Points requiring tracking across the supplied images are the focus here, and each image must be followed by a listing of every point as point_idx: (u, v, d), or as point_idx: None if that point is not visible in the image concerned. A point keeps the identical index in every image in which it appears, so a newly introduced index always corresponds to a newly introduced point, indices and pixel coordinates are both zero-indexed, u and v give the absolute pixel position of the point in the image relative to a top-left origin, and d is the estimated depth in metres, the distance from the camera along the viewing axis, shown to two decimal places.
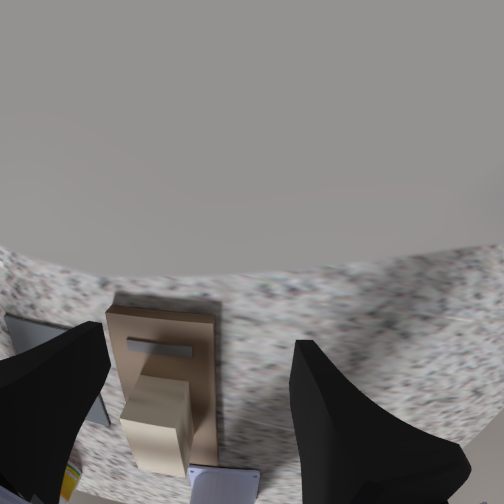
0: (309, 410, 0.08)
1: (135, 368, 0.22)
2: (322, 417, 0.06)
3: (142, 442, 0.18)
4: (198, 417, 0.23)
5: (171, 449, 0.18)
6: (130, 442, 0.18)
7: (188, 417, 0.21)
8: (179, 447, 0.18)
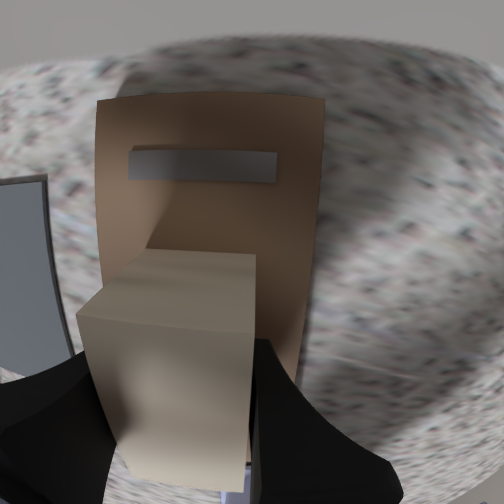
0: (253, 410, 0.08)
1: (137, 232, 0.11)
2: (256, 418, 0.06)
3: (138, 404, 0.07)
4: None
5: (223, 420, 0.07)
6: (107, 405, 0.07)
7: None
8: (248, 411, 0.07)
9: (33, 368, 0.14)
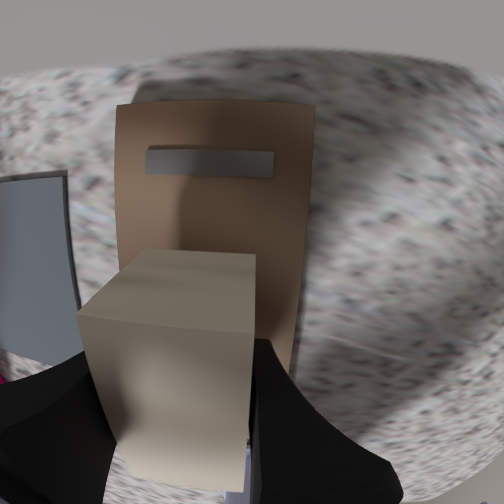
0: (253, 409, 0.08)
1: (152, 220, 0.12)
2: (256, 417, 0.06)
3: (138, 404, 0.07)
4: (262, 331, 0.14)
5: (223, 419, 0.07)
6: (107, 404, 0.07)
7: None
8: (248, 411, 0.07)
9: (46, 352, 0.16)
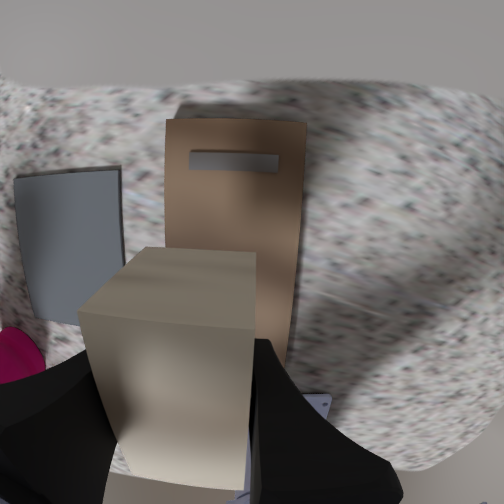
0: (253, 409, 0.08)
1: (192, 202, 0.17)
2: (256, 417, 0.06)
3: (139, 400, 0.07)
4: (270, 284, 0.19)
5: (224, 416, 0.07)
6: (108, 402, 0.07)
7: None
8: None
9: None
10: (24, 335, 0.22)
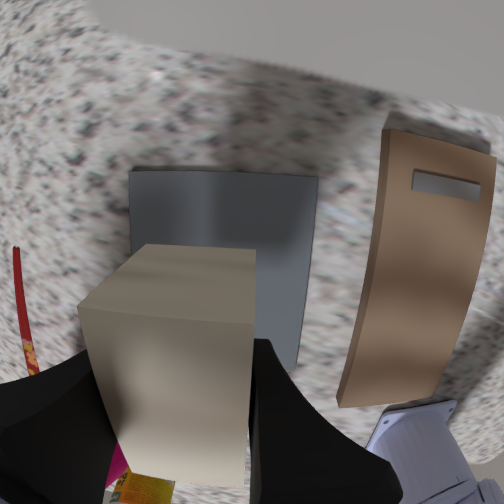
0: (253, 409, 0.08)
1: (409, 225, 0.15)
2: (256, 417, 0.06)
3: (138, 396, 0.07)
4: (453, 305, 0.16)
5: (224, 413, 0.07)
6: (107, 398, 0.07)
7: None
8: (248, 404, 0.07)
9: None
10: None
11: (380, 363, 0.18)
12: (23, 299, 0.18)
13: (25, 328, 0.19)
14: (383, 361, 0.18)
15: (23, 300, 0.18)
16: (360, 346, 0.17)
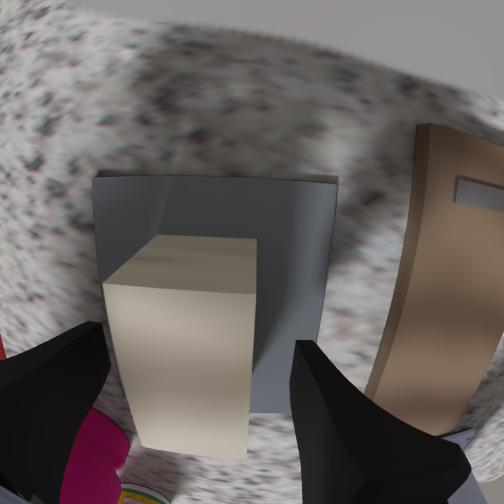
0: (309, 410, 0.08)
1: (449, 246, 0.11)
2: (322, 417, 0.06)
3: (154, 365, 0.08)
4: (487, 337, 0.13)
5: (229, 378, 0.08)
6: (124, 369, 0.08)
7: None
8: None
9: None
10: (99, 415, 0.16)
11: (401, 404, 0.14)
12: None
13: (1, 358, 0.15)
14: (404, 402, 0.14)
15: None
16: (380, 389, 0.13)
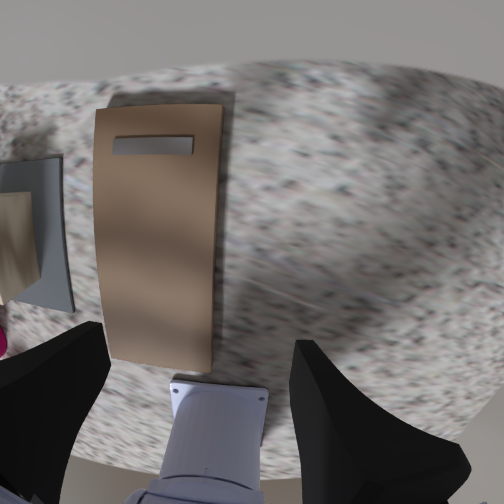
0: (309, 410, 0.08)
1: (116, 185, 0.17)
2: (322, 417, 0.06)
3: None
4: (189, 267, 0.19)
5: None
6: None
7: (24, 234, 0.18)
8: None
9: (38, 294, 0.21)
10: None
11: (127, 317, 0.20)
12: None
13: None
14: (129, 316, 0.20)
15: None
16: (103, 296, 0.19)
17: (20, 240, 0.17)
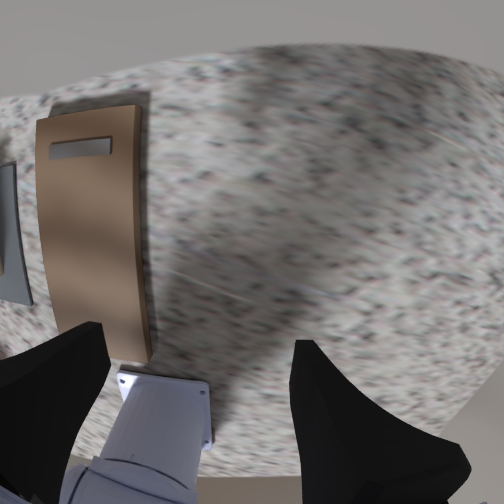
0: (308, 410, 0.08)
1: (53, 187, 0.17)
2: (322, 417, 0.06)
3: None
4: (115, 260, 0.19)
5: None
6: None
7: None
8: None
9: (3, 289, 0.21)
10: None
11: (71, 308, 0.20)
12: None
13: None
14: (72, 307, 0.20)
15: None
16: (50, 288, 0.19)
17: None
